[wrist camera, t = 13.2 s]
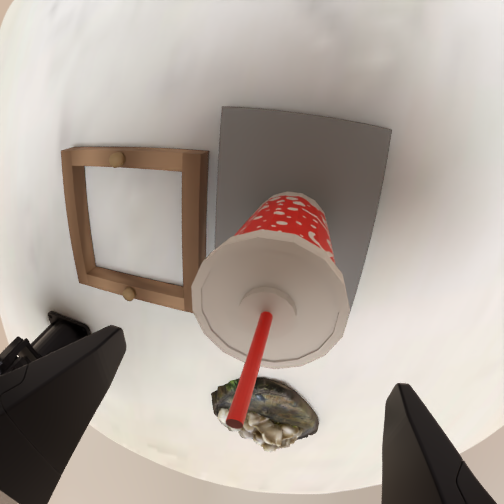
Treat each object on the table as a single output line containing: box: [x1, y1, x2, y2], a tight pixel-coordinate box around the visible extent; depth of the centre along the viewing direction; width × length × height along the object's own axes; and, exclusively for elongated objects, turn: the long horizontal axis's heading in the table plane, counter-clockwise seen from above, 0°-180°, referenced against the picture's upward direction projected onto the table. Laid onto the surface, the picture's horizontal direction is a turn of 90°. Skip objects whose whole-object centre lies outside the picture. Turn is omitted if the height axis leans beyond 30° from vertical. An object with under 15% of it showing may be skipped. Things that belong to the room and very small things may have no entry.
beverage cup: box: [191, 191, 350, 429], centre depth 13 cm, size 6×6×14 cm
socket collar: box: [61, 147, 209, 313], centre depth 22 cm, size 12×12×2 cm
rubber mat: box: [215, 107, 392, 311], centre depth 20 cm, size 10×14×1 cm
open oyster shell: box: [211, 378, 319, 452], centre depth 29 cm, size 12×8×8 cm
